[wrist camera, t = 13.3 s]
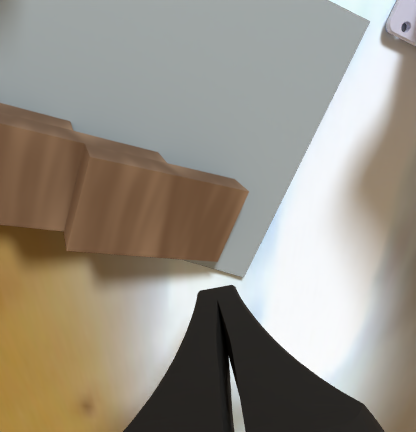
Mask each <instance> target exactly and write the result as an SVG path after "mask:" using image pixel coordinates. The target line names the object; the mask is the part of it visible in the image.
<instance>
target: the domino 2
mask: <svg viewBox="0 0 416 432" xmlns="http://www.w3.org/2000/svg"><path fill="white" fill-rule="evenodd" d="M248 193H249V191H248V190H247V189H246V188H245V187H243V186H242V185H241V184H240V183H239V182H238V181H237V180H235V179H233V178H228V177H224V176H220V175H216V174H211V173H207V172H203V171H199V170H194V169H190V168H186V167H182V166H177V165H173V164H169V163H165V162H160V161H156V160H152V159H148V158H144V157H139V156H135V155H131V154H127V153H122V152H118V151H114V150H110V149H105V148H101V147H97V146H93V145H88V144H85V146H84V150H83V154H82V158H81V162H80V167H79V171H78V175H77V179H76V183H75V187H74V191H73V196H72V200H71V204H70V208H69V212H68V216H67V220H66V225H65V229H64V237H65V244H66V251H76V252H89V253H103V254H117V255H130V256H144V257H157V258H171V259H184V260H198V261H211V262H218V260H219V258H220V256H221V253H222V251H223V249H224V247H225V245H226V242H227V240H228V238H229V236H230V233H231V231H232V229H233V227H234V224H235V222H236V220H237V218H238V216H239V213H240V211H241V209H242V207H243V204H244V202H245V200H246V198H247V196H248Z"/></svg>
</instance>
